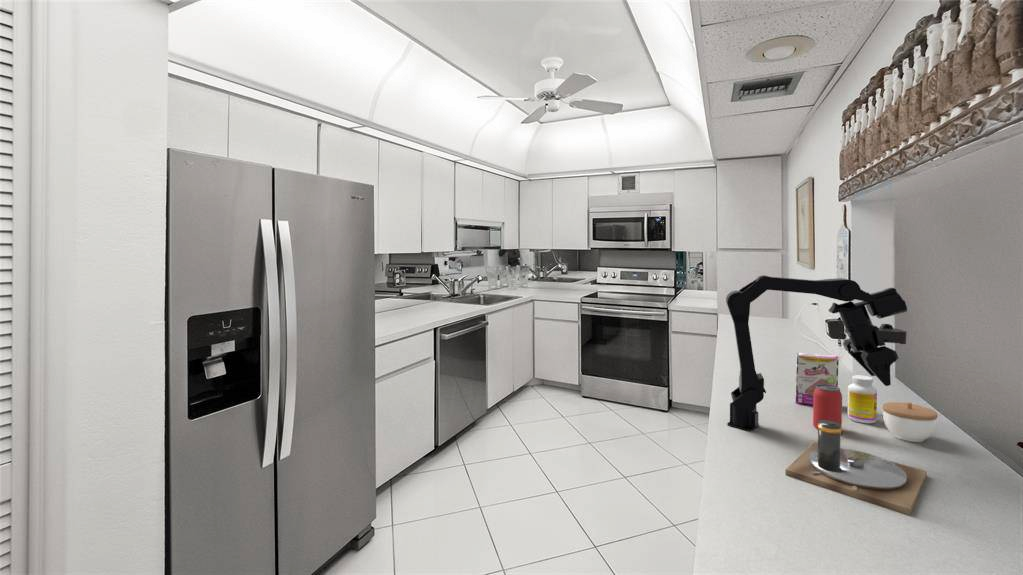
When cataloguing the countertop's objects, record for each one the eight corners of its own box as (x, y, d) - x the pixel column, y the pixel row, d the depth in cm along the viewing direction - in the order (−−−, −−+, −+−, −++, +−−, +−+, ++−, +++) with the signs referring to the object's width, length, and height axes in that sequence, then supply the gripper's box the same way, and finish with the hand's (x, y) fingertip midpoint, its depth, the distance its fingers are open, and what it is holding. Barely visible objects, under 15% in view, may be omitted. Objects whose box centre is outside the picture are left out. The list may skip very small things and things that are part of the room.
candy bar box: (795, 404, 141) (796, 355, 140) (795, 399, 145) (795, 351, 144) (838, 409, 135) (839, 358, 134) (836, 404, 139) (837, 355, 138)
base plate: (785, 474, 98) (785, 468, 98) (814, 446, 111) (814, 440, 111) (910, 515, 82) (910, 507, 81) (926, 476, 95) (926, 469, 95)
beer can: (846, 433, 118) (847, 391, 117) (819, 432, 119) (820, 390, 118) (833, 424, 124) (834, 383, 123) (808, 423, 125) (809, 383, 124)
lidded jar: (938, 449, 107) (939, 413, 106) (881, 438, 114) (882, 404, 113) (934, 435, 115) (936, 401, 114) (882, 426, 122) (882, 393, 121)
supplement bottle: (878, 425, 122) (879, 381, 121) (849, 421, 125) (849, 378, 124) (874, 417, 128) (875, 375, 127) (846, 414, 131) (846, 373, 130)
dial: (855, 449, 105) (856, 405, 105) (929, 486, 89) (931, 434, 88) (791, 455, 104) (791, 410, 103) (853, 494, 87) (855, 440, 86)
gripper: (911, 320, 101) (937, 383, 100) (880, 310, 118) (902, 363, 117) (856, 333, 106) (880, 394, 105) (833, 322, 123) (854, 373, 122)
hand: (880, 380), depth 112 cm, fingers open, 9 cm apart
